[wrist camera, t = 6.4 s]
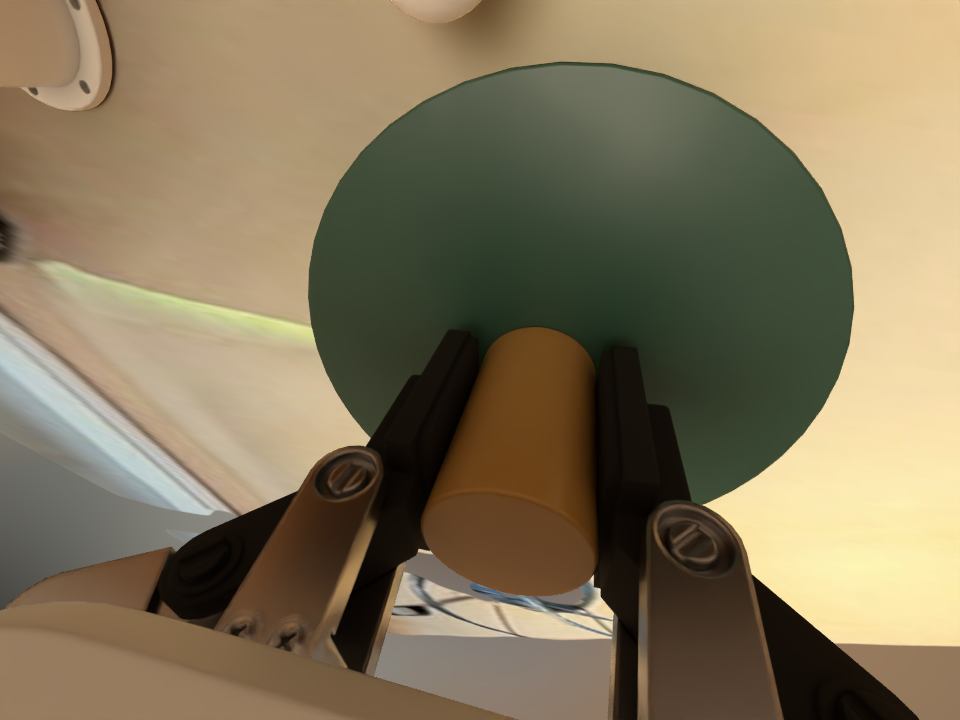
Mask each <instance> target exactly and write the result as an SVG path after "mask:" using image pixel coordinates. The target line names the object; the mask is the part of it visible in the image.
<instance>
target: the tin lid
mask: <svg viewBox="0 0 960 720" xmlns="http://www.w3.org/2000/svg"><path fill="white" fill-rule="evenodd" d="M308 299H309V308H310V318H311V325H312V329H313V333H314V337H315V342H316V346H317V349H318V352H319V355H320V357H321V360H322V363H323V365H324V368H325V371H326V373H327V375H328V377H329V379H330V381H331V383H332V385H333V387H334V389H335V391H336V392H337V394H338V396H339V397H340V399H341V400H342V402H343V403H344V405H345V406H346V408H347V409H348V411H349V413H350V414H351V415H352V416H353V418H354V419H355V420H356V421H357V423H358V424H359V425H360V426H361V428H362V429H363V430H364V431H365V432H366V433H367V434H368V436H369V437H370V438H371V437H372V436H373V434H374V433H375V431H376V430H377V428H378V426H379V425H380V423H381V422H382V420H383V418H384V417H385V415H386V414H387V412H388V411H389V409H390V407H391V406H392V404H393V403H394V401H395V399H396V398H397V396H398V395H399V393H400V392H401V390H402V388H403V387H404V385H405V384H406V382H407V380H408V379H409V378H410V377H411V376H412V375H414V374H415V375H421V374H422V372H423V371H424V369H425V367H426V366H427V364H428V362H429V361H430V359H431V357H432V356H433V354H434V352H435V351H436V349H437V347H438V346H439V344H440V342H441V341H442V339H443V337H444V335H445V334H446V332H447V331H448V330H449V329H452V330H462V331H470V332H471V336H472V337H476V338H478V345H479V373H478V375H477V378H476V380H475V383H474V385H473V388H472V390H471V393H470V395H469V398H468V400H467V403H466V405H465V408H464V410H463V413H462V415H461V418H460V420H459V423H458V425H457V428H456V430H455V433H454V435H453V438H452V440H451V443H450V445H449V448H448V450H447V453H446V455H445V458H444V460H443V463H442V465H441V468H440V470H439V473H438V475H437V478H436V480H435V483H434V486H433V488H432V491H431V493H430V496H429V498H428V501H427V503H426V506H425V508H424V511H423V513H422V516H421V532H422V535H423V538H424V540H425V543H426V545H427V546H428V547H429V549H430V550H431V552H432V553H433V554H434V555H435V556H436V557H437V558H438V559H439V560H440V561H441V562H442V563H443V564H445V565H446V566H447V567H448V568H450V569H451V570H453V571H454V572H456V573H458V574H459V575H461V576H463V577H465V578H466V579H468V580H471V581H473V582H475V583H477V584H480V585H482V586H485V587H488V588H491V589H494V590H498V591H501V592H506V593H511V594H516V595H524V596H551V595H558V594H563V593H567V592H570V591H573V590H575V589H577V588H579V587H581V586H583V585H584V584H585V583H586V582H588V581H589V580H590V579H591V577H592V576H593V574H594V573H595V570H596V568H597V565H598V559H599V548H598V507H597V441H596V381H597V376H598V370H599V365H600V359H601V354H602V351H603V350H606V351H611V347H612V345H616V346H626V347H636V348H637V350H638V355H639V361H640V367H641V372H642V378H643V384H644V389H645V395H646V401H647V403H648V404H656V405H664V406H667V407H668V408H669V410H670V413H671V418H672V422H673V426H674V430H675V434H676V438H677V442H678V446H679V450H680V454H681V459H682V463H683V467H684V471H685V475H686V479H687V483H688V487H689V491H690V495H691V500H692V502H694V503H697V504H700V505H703V504H706V503H708V502H710V501H712V500H714V499H717V498H719V497H721V496H723V495H725V494H727V493H729V492H731V491H733V490H735V489H736V488H738V487H739V486H741V485H743V484H744V483H746V482H748V481H749V480H751V479H752V478H754V477H756V476H757V475H759V474H760V473H761V472H762V471H764V470H765V469H766V468H767V467H769V466H770V465H771V464H772V463H774V462H775V461H776V460H778V459H779V458H780V457H781V456H782V455H783V454H784V453H785V452H786V451H787V450H788V449H789V448H790V447H791V446H792V445H793V444H794V443H795V442H796V441H797V440H798V439H799V438H800V437H801V436H802V435H803V434H804V433H805V431H806V430H807V428H808V427H809V426H810V424H811V423H812V422H813V420H814V419H815V418H816V416H817V415H818V413H819V412H820V411H821V409H822V408H823V406H824V404H825V403H826V401H827V399H828V397H829V395H830V393H831V391H832V389H833V387H834V385H835V383H836V381H837V379H838V377H839V374H840V371H841V368H842V365H843V362H844V359H845V356H846V353H847V350H848V346H849V343H850V335H851V327H852V320H853V312H854V297H853V280H852V267H851V263H850V259H849V255H848V252H847V248H846V244H845V240H844V237H843V233H842V229H841V227H840V224H839V222H838V220H837V218H836V216H835V214H834V212H833V210H832V208H831V206H830V204H829V202H828V200H827V198H826V196H825V194H824V192H823V190H822V188H821V187H820V186H819V184H818V183H817V182H816V180H815V179H814V178H813V177H812V175H811V174H810V173H809V171H808V170H807V169H806V167H805V166H804V165H803V163H802V162H801V161H800V160H799V158H798V157H797V156H796V154H795V153H794V152H793V151H792V150H791V149H790V148H789V147H787V146H786V145H785V144H784V143H783V142H782V141H781V140H780V139H778V138H777V137H776V136H775V135H774V134H773V133H772V132H771V131H769V130H768V129H767V128H766V127H765V126H764V125H763V124H762V123H760V122H759V121H758V120H757V119H755V118H754V117H752V116H751V115H749V114H747V113H746V112H744V111H742V110H741V109H739V108H737V107H736V106H734V105H732V104H731V103H729V102H727V101H726V100H724V99H722V98H721V97H719V96H717V95H716V94H714V93H712V92H709V91H707V90H704V89H702V88H699V87H696V86H694V85H691V84H689V83H686V82H684V81H681V80H678V79H676V78H673V77H671V76H668V75H665V74H661V73H657V72H652V71H647V70H642V69H637V68H632V67H627V66H622V65H617V64H610V63H583V62H554V63H546V64H538V65H530V66H522V67H514V68H509V69H505V70H502V71H499V72H495V73H492V74H488V75H485V76H481V77H478V78H475V79H471V80H468V81H464V82H462V83H460V84H458V85H456V86H454V87H452V88H450V89H448V90H446V91H443V92H441V93H439V94H437V95H435V96H433V97H431V98H429V99H427V100H425V101H423V102H422V103H420V104H419V105H417V106H416V107H414V108H413V109H411V110H410V111H409V112H407V113H406V114H404V115H403V116H401V117H400V118H398V119H397V120H396V121H394V122H393V123H391V124H390V125H389V126H388V127H387V128H386V129H385V130H383V131H382V132H381V133H380V134H379V135H378V136H377V137H376V138H375V139H374V140H373V141H372V142H371V143H370V144H369V145H368V146H367V147H366V148H365V149H364V150H363V151H362V152H361V153H360V154H359V156H358V157H357V158H356V160H355V161H354V162H353V164H352V165H351V166H350V168H349V169H348V170H347V172H346V173H345V174H344V176H343V177H342V178H341V180H340V181H339V183H338V185H337V187H336V189H335V191H334V193H333V195H332V197H331V199H330V200H329V202H328V204H327V206H326V208H325V210H324V213H323V216H322V219H321V222H320V225H319V228H318V231H317V234H316V237H315V239H314V244H313V250H312V256H311V261H310V267H309V289H308Z"/></svg>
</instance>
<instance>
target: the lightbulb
mask: <svg viewBox="0 0 960 720" xmlns="http://www.w3.org/2000/svg"><path fill="white" fill-rule="evenodd" d="M390 1H391V2H392V3H393V4H394V5H395V6H396V7H398V8H399V9H400V10H401V11H402V12H404V13H406V14H407V15H409V16H411V17H413V18H415V19H417V20H420V21H424V22H428V23H447V22H450V21H454V20H457V19H459V18H460V17H462V16H464V15H465V14H467V13H469V12H471V11H472V10H473V9H474V8H475V7H476V6H477V5H478V4H479V3H480V2H481V1H482V0H390Z"/></svg>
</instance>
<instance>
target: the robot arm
mask: <svg viewBox="0 0 960 720" xmlns="http://www.w3.org/2000/svg"><path fill="white" fill-rule="evenodd" d="M111 79H112V56H111V49H110V42H109V38H108V35H107V31H106V28H105V24H104V20H103V18H102V15H101V13H100V10H99V8H98V5H97V3H96V0H0V87H20V88H21V89H23V90H24V91H25V92H27V93H28V94H29V95H31V96H32V97H34V98H35V99H37V100H39V101H41V102H43V103H44V104H46V105H49V106H52V107H54V108H57V109H60V110H68V111H79V110H89V109H91V108H94V107H97V106H98V105H99V104H100V103H101V102H102V101H103V100H104V99H105V97H106V95H107V93H108V91H109V88H110V84H111ZM478 373H479V345H478V338H476V337H472V336H471V332H470V331H462V330H452V329H449V330H448V331H447V332H446V334H445V335H444V337H443V339H442V341H441V342H440V344H439V346H438V347H437V349H436V351H435V352H434V354H433V356H432V357H431V359H430V361H429V362H428V364H427V366H426V367H425V369H424V371H423V372H422V374H421V375H415V374H414V375H412V376H411V377H410V378H409V379H408V380H407V382H406V384H405V385H404V387H403V388H402V390H401V392H400V393H399V395H398V396H397V398H396V399H395V401H394V403H393V404H392V406H391V407H390V409H389V411H388V412H387V414H386V415H385V417H384V418H383V420H382V422H381V423H380V425H379V426H378V428H377V430H376V431H375V433H374V434H373V436H372V437H371V439H370V441H369V442H368V444H367V445H366V447H365V446H347V447H343V448H339V449H337V450H335V451H333V452H331V453H329V454H327V455H325V456H324V457H323V458H322V459H320V460H319V461H318V462H317V463H316V464H315V465H314V467H313V468H312V469H311V470H310V472H309V474H308V475H307V477H306V479H305V480H304V482H303V484H302V485H301V487H300V488H299V490H298V491H296V492H294V493H292V494H290V495H287V496H285V497H283V498H280V499H278V500H276V501H274V502H271V503H269V504H267V505H264V506H262V507H260V508H258V509H255V510H253V511H251V512H248V513H246V514H244V515H241V516H239V517H237V518H235V519H232V520H230V521H228V522H225V523H223V524H221V525H219V526H217V527H214V528H212V529H210V530H207V531H205V532H204V533H202V534H200V535H198V536H196V537H194V538H192V539H191V540H190V541H189V542H187V543H186V544H185V545H184V546H182V547H181V548H180V549H179V550H178V551H175V550H174V549H173V548H172V547H168V548H164V549H159V550H155V551H151V552H146V553H142V554H138V555H134V556H130V557H125V558H121V559H117V560H112V561H108V562H104V563H100V564H95V565H91V566H87V567H83V568H78V569H74V570H70V571H66V572H61V573H59V574H56V575H53V576H50V577H48V578H45V579H43V580H41V581H39V582H38V583H36V584H34V585H33V586H31V587H29V588H27V589H26V590H24V591H23V592H22V593H21V594H20V595H18V596H17V597H16V598H15V599H13V600H12V601H11V602H10V603H9V604H8V605H7V606H6V607H5V608H4V609H3V610H1V611H0V720H517V719H514V718H511V717H508V716H504V715H501V714H497V713H494V712H491V711H487V710H484V709H481V708H477V707H474V706H470V705H467V704H464V703H460V702H457V701H454V700H451V699H447V698H444V697H440V696H437V695H434V694H430V693H427V692H424V691H420V690H417V689H413V688H410V687H407V686H403V685H400V684H397V683H393V682H390V681H386V680H383V679H380V678H377V677H374V673H375V670H376V667H377V663H378V660H379V656H380V653H381V649H382V646H383V642H384V639H385V635H386V632H387V628H388V625H389V621H390V618H391V614H392V611H393V607H394V604H395V600H396V597H397V593H398V590H399V586H400V583H401V579H402V576H403V572H404V569H405V563H406V561H407V560H409V559H411V558H412V557H414V556H416V554H417V552H418V549H423V550H428V551H430V549H429V547H428V546H427V545H426V543H425V540H424V538H423V535H422V532H421V516H422V513H423V511H424V508H425V506H426V503H427V501H428V498H429V496H430V493H431V491H432V488H433V486H434V483H435V480H436V478H437V475H438V473H439V470H440V468H441V465H442V463H443V460H444V458H445V455H446V453H447V450H448V448H449V445H450V443H451V440H452V438H453V435H454V433H455V430H456V428H457V425H458V423H459V420H460V418H461V415H462V413H463V410H464V408H465V405H466V403H467V400H468V398H469V395H470V393H471V390H472V388H473V385H474V383H475V380H476V378H477V375H478ZM596 441H597V507H598V548H599V559H598V565H597V568H596V570H595V573H594V587H596V588H601V598H602V599H603V600H604V601H605V602H606V604H607V605H608V606H609V607H610V608H611V610H612V611H613V612H614V617H613V634H612V651H611V669H610V687H609V704H608V720H919V719H918V717H917V716H916V715H915V714H914V713H913V712H912V711H911V710H910V709H909V708H908V707H907V706H906V705H905V704H904V703H903V702H902V701H901V700H900V699H899V698H898V697H896V695H894V694H893V693H892V692H891V691H890V690H888V689H887V688H886V687H885V686H884V685H883V684H882V683H880V682H879V681H878V680H876V678H874V677H873V676H872V675H871V674H869V673H868V672H867V671H866V670H865V669H864V668H863V667H861V666H860V665H859V664H858V663H856V662H855V661H854V660H853V659H852V658H851V657H849V656H848V655H847V654H846V653H845V652H844V651H842V650H841V649H840V648H839V647H837V646H836V645H835V644H834V643H833V642H832V641H830V640H829V639H828V638H827V637H826V636H825V635H823V634H822V633H821V632H820V631H819V630H817V629H816V628H815V627H814V626H813V625H811V624H810V623H809V622H808V621H807V620H806V619H804V618H803V617H802V616H801V615H800V614H798V613H797V612H796V611H795V610H794V609H792V608H791V607H790V606H789V605H788V604H787V603H785V602H784V601H783V600H782V599H781V598H779V597H778V596H777V595H776V594H775V593H773V592H772V591H771V590H770V589H769V588H768V587H766V586H765V585H764V584H763V583H762V582H760V581H759V580H758V579H757V578H756V577H754V576H753V575H752V574H751V570H750V565H749V561H748V556H747V552H746V549H745V547H744V544H743V542H742V539H741V538H740V536H739V535H738V534H737V532H736V531H735V529H734V528H733V527H732V526H731V525H730V524H729V523H728V522H727V521H726V520H725V519H724V518H722V517H721V516H720V515H719V514H717V513H716V512H714V511H712V510H710V509H709V508H707V507H705V506H703V505H700V504H697V503H694V502H692V500H691V495H690V491H689V487H688V483H687V479H686V475H685V471H684V467H683V463H682V459H681V454H680V450H679V446H678V442H677V438H676V434H675V430H674V426H673V422H672V418H671V413H670V410H669V408H668V407H667V406H664V405H656V404H648V403H647V401H646V395H645V389H644V384H643V378H642V372H641V367H640V361H639V355H638V350H637V348H636V347H626V346H616V345H612V347H611V351H606V350H603V351H602V354H601V359H600V365H599V370H598V376H597V381H596Z"/></svg>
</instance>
